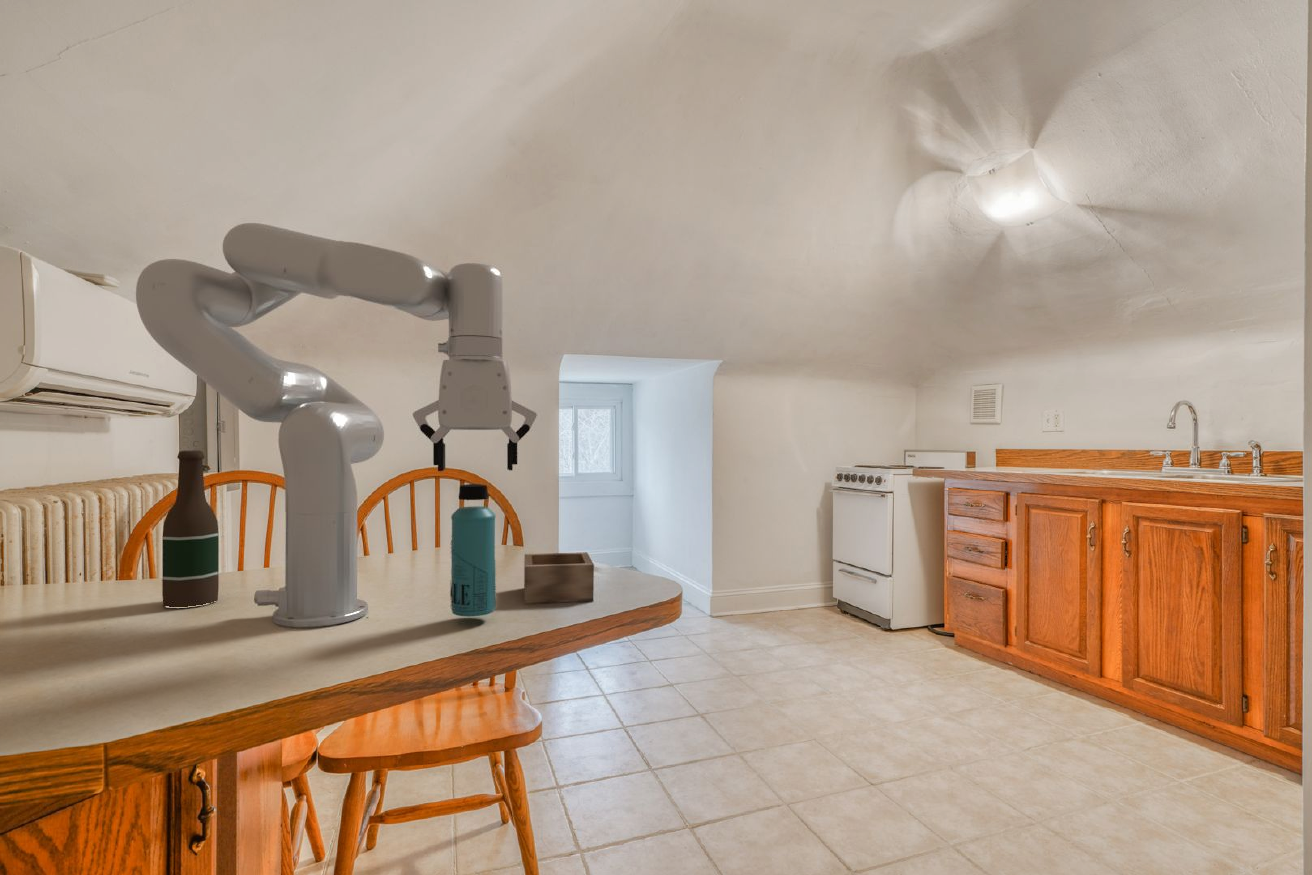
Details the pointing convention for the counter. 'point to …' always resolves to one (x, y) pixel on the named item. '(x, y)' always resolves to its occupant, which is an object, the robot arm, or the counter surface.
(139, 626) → the counter surface
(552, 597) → the holder
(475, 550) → the beverage bottle
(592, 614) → the counter surface
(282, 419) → the robot arm
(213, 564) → the beer bottle
